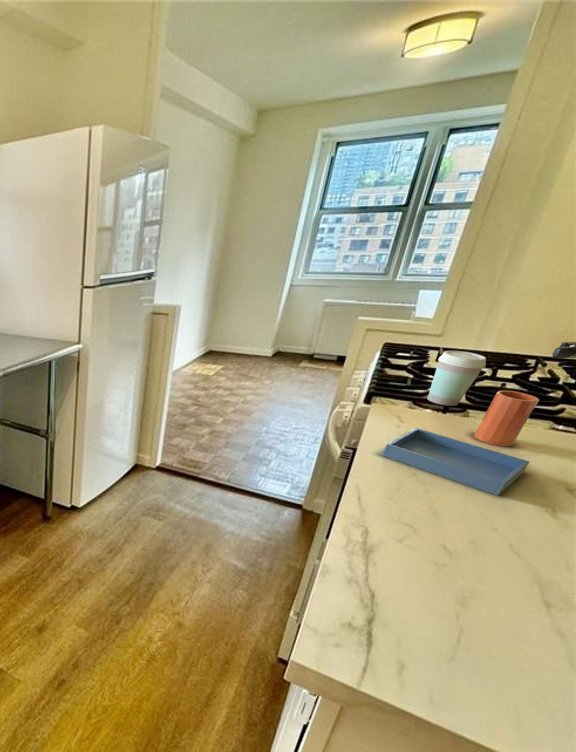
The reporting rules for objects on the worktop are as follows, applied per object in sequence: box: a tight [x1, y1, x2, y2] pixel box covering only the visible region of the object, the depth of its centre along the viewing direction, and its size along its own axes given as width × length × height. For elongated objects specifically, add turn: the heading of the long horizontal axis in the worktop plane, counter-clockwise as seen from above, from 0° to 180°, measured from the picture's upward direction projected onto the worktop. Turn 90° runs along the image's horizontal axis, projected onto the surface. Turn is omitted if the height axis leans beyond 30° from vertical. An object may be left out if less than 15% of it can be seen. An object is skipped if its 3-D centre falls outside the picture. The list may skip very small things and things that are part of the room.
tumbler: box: [473, 390, 540, 447], centre depth 100 cm, size 6×6×10 cm
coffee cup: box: [426, 350, 487, 407], centre depth 118 cm, size 8×9×12 cm
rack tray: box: [381, 427, 530, 496], centre depth 92 cm, size 17×14×2 cm
